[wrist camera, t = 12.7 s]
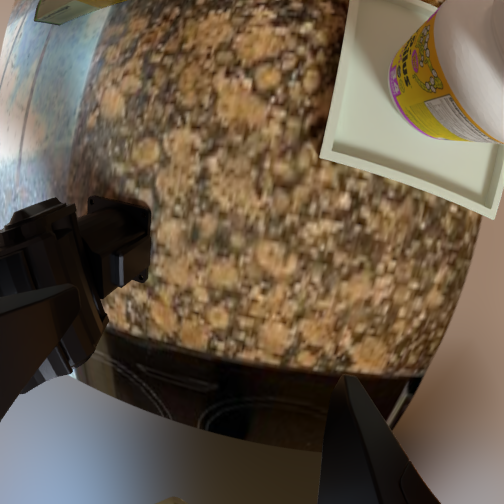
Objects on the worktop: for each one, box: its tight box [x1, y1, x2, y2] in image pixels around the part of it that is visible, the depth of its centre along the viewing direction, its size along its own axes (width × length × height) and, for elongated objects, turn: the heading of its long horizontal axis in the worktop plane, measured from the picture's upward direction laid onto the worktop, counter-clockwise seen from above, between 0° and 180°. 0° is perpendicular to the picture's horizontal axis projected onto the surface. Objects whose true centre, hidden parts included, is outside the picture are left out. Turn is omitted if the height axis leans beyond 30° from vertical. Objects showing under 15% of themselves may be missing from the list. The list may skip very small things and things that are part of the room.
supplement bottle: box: [388, 0, 504, 145], centre depth 8 cm, size 7×7×13 cm
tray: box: [319, 0, 504, 220], centre depth 14 cm, size 13×13×2 cm
